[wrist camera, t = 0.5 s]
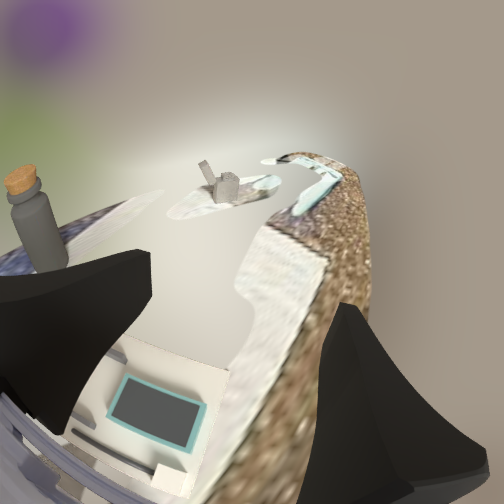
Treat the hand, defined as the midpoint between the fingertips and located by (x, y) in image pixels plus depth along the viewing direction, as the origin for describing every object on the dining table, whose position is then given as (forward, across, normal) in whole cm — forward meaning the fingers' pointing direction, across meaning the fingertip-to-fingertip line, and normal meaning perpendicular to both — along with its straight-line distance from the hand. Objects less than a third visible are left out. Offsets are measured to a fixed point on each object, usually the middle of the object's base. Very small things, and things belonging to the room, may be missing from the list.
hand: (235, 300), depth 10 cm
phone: (+2, +6, +18) cm, 19 cm away
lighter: (+37, +14, +8) cm, 40 cm away
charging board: (+2, +9, +18) cm, 20 cm away
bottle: (+13, +31, +14) cm, 36 cm away
